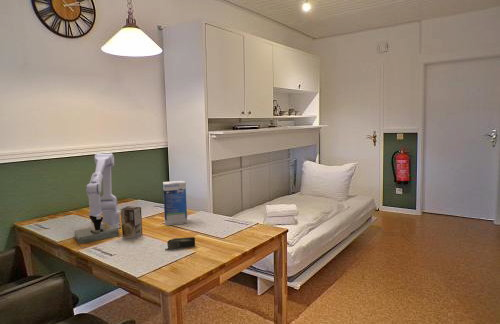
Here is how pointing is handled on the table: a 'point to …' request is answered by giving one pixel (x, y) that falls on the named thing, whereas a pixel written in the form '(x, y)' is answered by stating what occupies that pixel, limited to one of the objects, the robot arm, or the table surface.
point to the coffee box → (131, 222)
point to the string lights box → (175, 202)
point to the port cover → (111, 227)
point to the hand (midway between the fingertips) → (96, 229)
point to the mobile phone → (181, 243)
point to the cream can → (94, 228)
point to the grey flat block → (94, 234)
